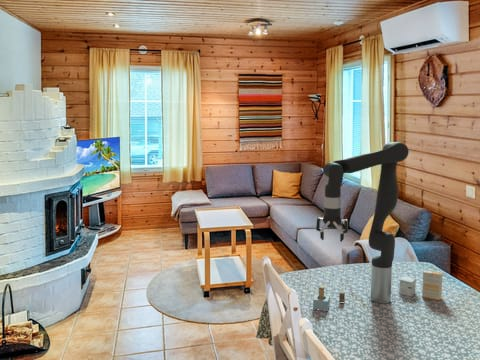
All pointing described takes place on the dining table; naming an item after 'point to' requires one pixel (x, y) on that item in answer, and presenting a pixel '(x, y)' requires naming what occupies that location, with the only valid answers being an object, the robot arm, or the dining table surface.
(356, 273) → the dining table surface
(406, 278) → the skincare box
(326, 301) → the hole block
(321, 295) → the long dowel
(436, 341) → the dining table surface
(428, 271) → the supplement box
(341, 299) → the short dowel
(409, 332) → the dining table surface
